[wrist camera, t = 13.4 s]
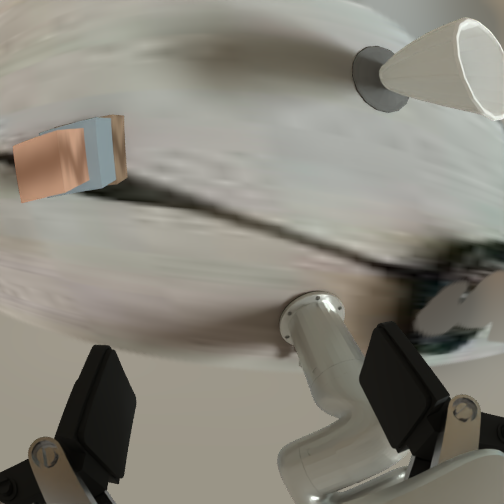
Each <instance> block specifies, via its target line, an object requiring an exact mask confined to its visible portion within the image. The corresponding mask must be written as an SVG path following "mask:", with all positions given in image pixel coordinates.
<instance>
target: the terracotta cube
mask: <svg viewBox="0 0 504 504" xmlns="http://www.w3.org/2000/svg"><path fill="white" fill-rule="evenodd" d="M13 153H14V161H15V169H16V175H17V182H18V187H19V193H20V198H21V203H24V202H28V201H32V200H36V199H40V198H45V197H49V196H53V195H58V194H62V193H66V192H68V191H70V190H71V189H73V188H75V187H77V186H79V185H81V184H83V183H85V182H87V181H89V173H88V166H87V158H86V149H85V140H84V128H77V129H64V130H56V131H53V132H50V133H47V134H44V135H41V136H38V137H35V138H33V139H30V140H27V141H25V142H22V143H20V144H17V145H15V146H13Z"/></svg>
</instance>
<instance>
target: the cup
mask: <svg viewBox="0 0 504 504" xmlns="http://www.w3.org/2000/svg"><path fill="white" fill-rule="evenodd" d="M353 79H354V82H355V85H356V88H357V90H358V92H359V93H360V94H361V96H362V97H363V99H364V100H365V101H366V102H367V103H368V104H370V105H371V106H372V107H374V108H375V109H376V110H380V111H384V112H388V113H389V112H394V111H399V110H400V109H401V108H402V107H403V106H404V105H406V103H407V101H408V99H409V97H411V98H414V99H418V100H421V101H426V102H430V103H434V104H438V105H441V106H446V107H450V108H455V109H459V110H463V111H468V112H472V113H477V114H481V115H483V116H485V117H487V118H488V119H490V120H492V121H496V120H501V119H503V118H504V52H503V49H502V48H501V45H500V44H499V42H498V41H497V39H496V38H495V37H494V35H493V34H492V33H491V32H490V30H488V29H487V28H486V27H485V26H484V25H482V24H481V23H480V22H479V21H477V20H475V19H470V18H467V17H464V18H461V19H458V20H456V21H453V22H450V23H448V24H446V25H443V26H441V27H439V28H437V29H434V30H432V31H430V32H428V33H426V34H425V35H423V36H421V37H420V38H418V39H416V40H415V41H413V42H411V43H409V44H408V45H407V46H405V47H404V48H402V49H401V50H400V51H398V52H397V53H396V54H394V53H393V52H391V51H390V50H388V49H385V48H382V47H379V46H374V47H367V48H365V49H364V50H362V51H361V52H359V53H358V55H357V57H356V59H355V61H354V63H353Z"/></svg>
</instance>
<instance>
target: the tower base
mask: <svg viewBox="0 0 504 504" xmlns="http://www.w3.org/2000/svg"><path fill="white" fill-rule="evenodd" d="M98 118H111V128H112V142H113V154H114V164H115V173H116V180H115V181H113V182H112V183H110V184H108V185H114V184H118V183H120V182H121V181H123V180H124V179H126V178H127V167H126V153H125V134H124V116H121V115H108V116H103V117H98ZM70 124H71V123H70ZM66 125H68V124H66ZM62 126H64V125H62ZM59 127H61V126H59ZM55 128H57V127H55Z"/></svg>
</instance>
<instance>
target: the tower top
mask: <svg viewBox="0 0 504 504" xmlns="http://www.w3.org/2000/svg"><path fill="white" fill-rule="evenodd" d="M77 128H84V140H85V149H86V158H87V166H88V173H89V181H87V182H85V183H83V184H81V185H79V186H77V187H75V188H73V189H71V190H70V191H68V192H66V193H62V194H58V195H53V196H49V197H54V196H59V195H65V194H70V193H76V192H81V191H87V190H93V189H100V188H103V187H105V186H107V185H108V184H110V183H112V182H113V181H115V180H116V173H115V164H114V154H113V142H112V128H111V118H97V117H95V118H91V119H87V120H83V121H79V122H75V123H71V124H68V125H64V126H61V127H57V128H54V129H51V130H48V131H45V132H41V133H39V136H41V135H44V134H47V133H50V132H53V131H56V130H64V129H77ZM49 197H47V198H49Z"/></svg>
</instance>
